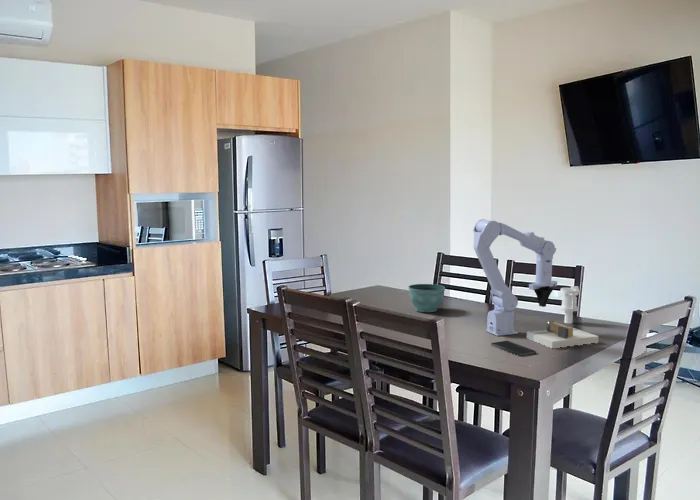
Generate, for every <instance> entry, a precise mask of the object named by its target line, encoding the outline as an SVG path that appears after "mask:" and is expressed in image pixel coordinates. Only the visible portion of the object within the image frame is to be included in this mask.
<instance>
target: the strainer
mask: <svg viewBox="0 0 700 500" xmlns="http://www.w3.org/2000/svg"><path fill="white" fill-rule="evenodd" d="M560 292H561V293H563V294H562V297H561V305H560V306H559V310H561V311H564V321H563V323H564V324H573V318H574V317H573V316H574V314H573V313H574V312H577V311H579V306H577V303H578V298H577V296H579V293H580V288H579V286H578V285H577V286H576V285H575V286H574V285H571V286H570V287H561V288H560Z"/></svg>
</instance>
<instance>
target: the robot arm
mask: <svg viewBox="0 0 700 500" xmlns="http://www.w3.org/2000/svg"><path fill="white" fill-rule="evenodd" d="M472 232H473V249H474V250H473V251H475V254H476V256H477V258H478V262H479V263H480V265H481V268H482V270H483V272H484V274H485V276H486V279H487V281H488V284H489V286H490V288H491V289H490V291H489V293H490V294H491V302H492V304H493V305H494V307H493V308H494V309H493V310H489V311H488V313H487V319H486V321H487V322H486V329H485V332H488V333H490V334H493V335H495V336H497V337H500V336H508V335H517V334H519V332H518V331H516V330H514V326H515V325H514V322H515V320H514V319H515V309H516V308H517V306H518V303H519V300H518V297H517V296H516V295H515V294H514V293H513V292H512V290H511V289H510V288H509V286H508V285H506V282H505V280H504V278H503V276H502V274H501V271H500V268H499V266H498V264H497V262H496V259H495V258H494V255H493V253H492V250H491V245H492V244H493V243H494V242H495V240H496V239H497V238H498V237H499V236H503V235H504V236H506V237H509V238H512V239H513V240H515V241H516V240H517V241H518V242H519V245H520V246H522V247H524V248H526V249H528V250H531V251H532V252H534V253H535V254H536V260H535V261H536V263H535V264H536V265H535V267H536V268H535V282H532V283H528V290H532V291H534V293H535V295H536V298H537V301H538V306H539V307H541V308H545V307H547V303H548V300H549V298H550V295H551V293H552V292H553V290H554V289H553V287H557V286H558V281H557V280H552V275H553V259H554V255H555V253H556V252H557V251H556V250H557V248H556V246H555V244H554V242H553V241H551V240H546V239H545V237H543V236H538V235H537V234H535V232H533V231H525V232H522V231H519V230H517V229H515V228H514V227H512V226H509V225H507V224H505V223H502V222H499V221H496V220H487V219H484V218H482V219H479V220H477V222H476V223H475V225H474V226H473V229H472Z"/></svg>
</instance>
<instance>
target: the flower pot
mask: <svg viewBox="0 0 700 500" xmlns="http://www.w3.org/2000/svg"><path fill="white" fill-rule="evenodd" d="M445 291H446V287H445V286H443V285H440V284H433V283H415V284H411V285H408V294H409V298H410V302H411V303H412V305H413V306H414V308H415V311H417V312H419V313H435V312H437V311H438V308H439V307H440V305H441V304H442V302H443V300H444V297H445Z"/></svg>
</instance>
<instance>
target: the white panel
mask: <svg viewBox="0 0 700 500" xmlns="http://www.w3.org/2000/svg"><path fill="white" fill-rule="evenodd" d="M570 327H571V328H573V336H572V337H567V335H568V329H567V328H564V327H561V326H559V327H558V333H556V332H553V331H548V330H547V329H540V330H532V331H531V330H530V331H526V340H530V341H532V342H535V343H537V344H539V343H540V345H542V346H544V345H545V347H547V348H549V347H550V349H552V348H553V349H561V348H560V347H562V348H568V347H567V346H570V347H575V346H574V345H578V346H584V345H583V344H587V345H592V344H591V343H595V344H599V338H600V337H599V335H597V334H593V333H590V332H588V331H587V332H586V331H584V330H581V329H578V328H575V327H572V326H570Z"/></svg>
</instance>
